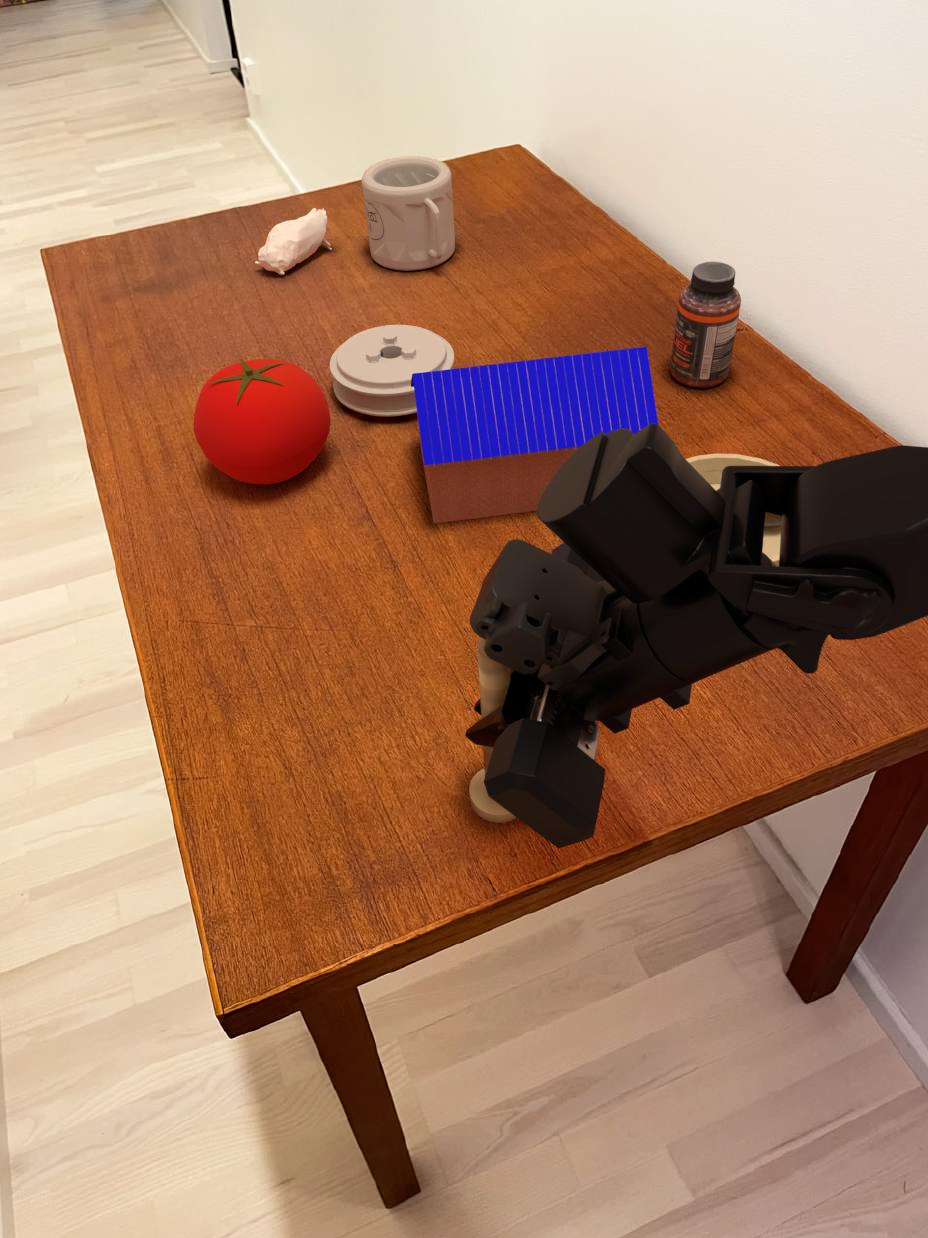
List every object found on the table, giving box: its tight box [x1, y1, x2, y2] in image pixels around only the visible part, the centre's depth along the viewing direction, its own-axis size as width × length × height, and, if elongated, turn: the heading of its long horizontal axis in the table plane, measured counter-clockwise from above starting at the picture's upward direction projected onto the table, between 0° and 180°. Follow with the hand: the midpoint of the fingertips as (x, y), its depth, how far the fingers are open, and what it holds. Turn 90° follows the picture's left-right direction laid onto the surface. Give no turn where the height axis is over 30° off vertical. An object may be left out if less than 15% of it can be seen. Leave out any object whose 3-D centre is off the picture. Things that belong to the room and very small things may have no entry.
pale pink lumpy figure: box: [254, 207, 333, 276], centre depth 119 cm, size 5×7×10 cm
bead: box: [764, 512, 782, 528], centre depth 80 cm, size 4×4×4 cm
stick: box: [468, 636, 518, 824], centre depth 59 cm, size 4×4×16 cm
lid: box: [329, 324, 455, 417], centre depth 98 cm, size 13×13×5 cm
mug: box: [361, 155, 456, 272], centre depth 117 cm, size 14×11×10 cm
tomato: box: [193, 357, 331, 485], centre depth 88 cm, size 11×12×10 cm
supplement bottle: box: [669, 261, 742, 389], centre depth 95 cm, size 6×6×11 cm
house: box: [411, 346, 659, 524], centre depth 85 cm, size 12×20×12 cm, turn 98°
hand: (474, 724), depth 59 cm, fingers closed on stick, 2 cm apart
